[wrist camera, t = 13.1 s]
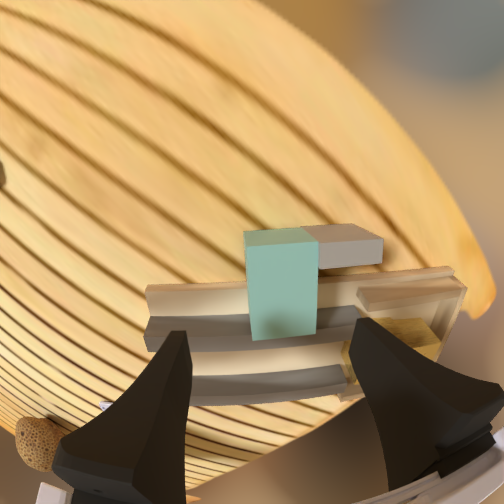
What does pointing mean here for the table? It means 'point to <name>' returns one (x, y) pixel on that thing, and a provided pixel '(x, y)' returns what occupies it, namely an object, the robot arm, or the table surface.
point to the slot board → (298, 347)
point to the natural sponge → (37, 442)
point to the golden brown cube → (385, 323)
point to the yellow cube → (419, 336)
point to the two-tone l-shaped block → (298, 273)
